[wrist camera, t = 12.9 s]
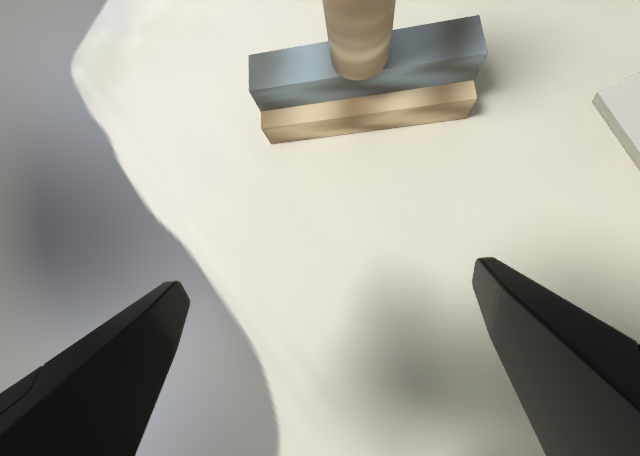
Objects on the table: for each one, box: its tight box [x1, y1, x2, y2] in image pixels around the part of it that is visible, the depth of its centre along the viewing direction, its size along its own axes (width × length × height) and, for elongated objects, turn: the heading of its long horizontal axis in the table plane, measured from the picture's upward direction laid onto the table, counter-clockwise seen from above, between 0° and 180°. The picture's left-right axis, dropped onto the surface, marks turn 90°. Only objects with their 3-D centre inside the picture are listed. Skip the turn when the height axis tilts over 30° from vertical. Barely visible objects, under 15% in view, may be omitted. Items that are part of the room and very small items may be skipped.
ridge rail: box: [249, 15, 488, 144], centre depth 23 cm, size 16×6×5 cm, turn 94°
